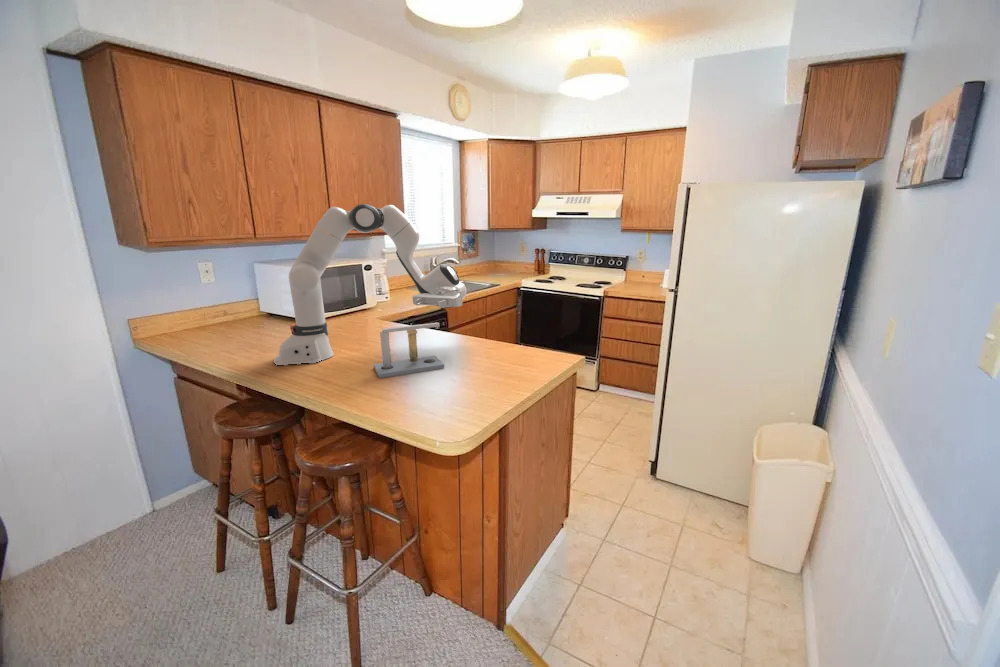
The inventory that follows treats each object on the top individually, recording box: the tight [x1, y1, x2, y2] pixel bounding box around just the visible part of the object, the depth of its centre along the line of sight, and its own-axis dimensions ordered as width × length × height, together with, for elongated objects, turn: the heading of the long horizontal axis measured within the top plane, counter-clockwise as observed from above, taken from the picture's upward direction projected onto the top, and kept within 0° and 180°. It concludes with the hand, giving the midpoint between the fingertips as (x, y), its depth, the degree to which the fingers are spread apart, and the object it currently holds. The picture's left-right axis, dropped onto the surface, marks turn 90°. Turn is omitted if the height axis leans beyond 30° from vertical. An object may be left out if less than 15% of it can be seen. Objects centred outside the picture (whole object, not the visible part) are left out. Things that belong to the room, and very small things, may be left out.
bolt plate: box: [373, 322, 445, 379], centre depth 160 cm, size 24×12×16 cm, turn 114°
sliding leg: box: [406, 329, 419, 362], centre depth 161 cm, size 3×3×12 cm
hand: (427, 303), depth 168 cm, fingers open, 8 cm apart
